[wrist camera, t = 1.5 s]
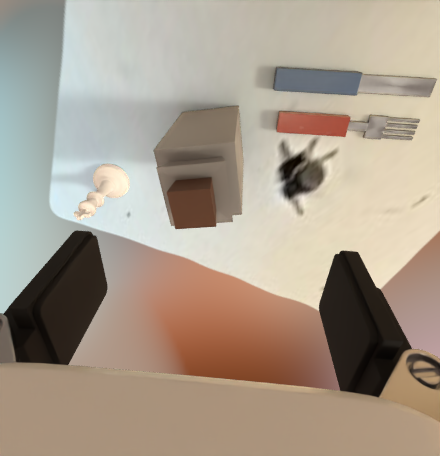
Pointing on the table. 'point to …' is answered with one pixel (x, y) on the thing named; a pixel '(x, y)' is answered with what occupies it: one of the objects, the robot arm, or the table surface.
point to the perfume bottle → (202, 168)
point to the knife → (349, 83)
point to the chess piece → (104, 189)
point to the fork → (342, 125)
